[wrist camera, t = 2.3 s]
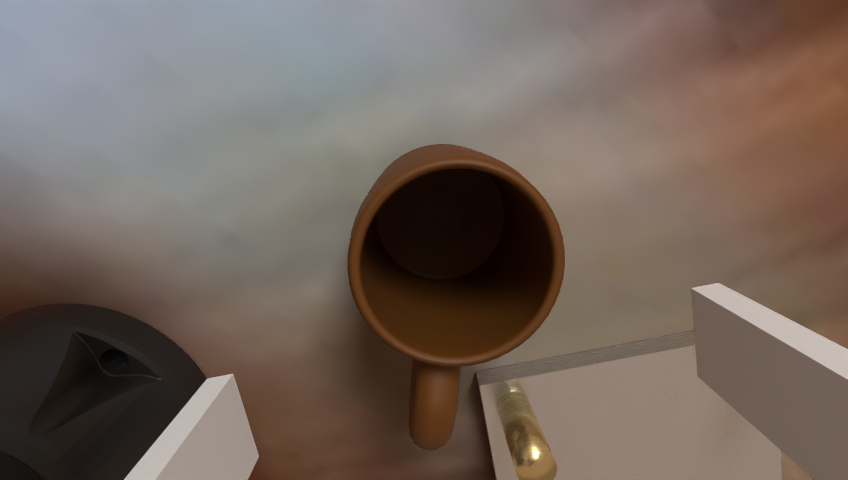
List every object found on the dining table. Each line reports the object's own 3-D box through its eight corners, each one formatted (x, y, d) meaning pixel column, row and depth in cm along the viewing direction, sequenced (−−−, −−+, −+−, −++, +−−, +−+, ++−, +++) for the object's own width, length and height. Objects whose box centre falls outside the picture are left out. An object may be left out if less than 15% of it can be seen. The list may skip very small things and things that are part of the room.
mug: (489, 366, 27) (529, 488, 18) (354, 354, 27) (325, 471, 18) (523, 151, 25) (590, 166, 16) (374, 134, 24) (352, 139, 15)
